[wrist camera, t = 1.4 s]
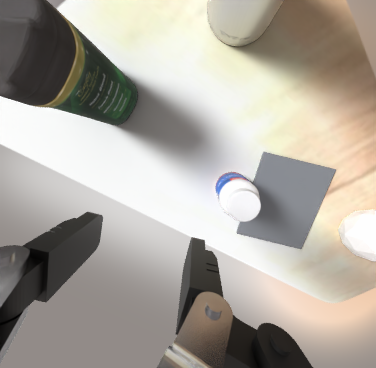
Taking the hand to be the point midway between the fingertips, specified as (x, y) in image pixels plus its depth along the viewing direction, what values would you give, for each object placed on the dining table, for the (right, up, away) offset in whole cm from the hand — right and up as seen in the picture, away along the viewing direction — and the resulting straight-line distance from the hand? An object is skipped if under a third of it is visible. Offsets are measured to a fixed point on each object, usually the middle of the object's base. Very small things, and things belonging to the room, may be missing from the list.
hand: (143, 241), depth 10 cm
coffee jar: (-10, +18, +19) cm, 28 cm away
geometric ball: (+31, -4, +21) cm, 38 cm away
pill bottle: (+10, +3, +21) cm, 23 cm away
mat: (+19, 0, +21) cm, 28 cm away
